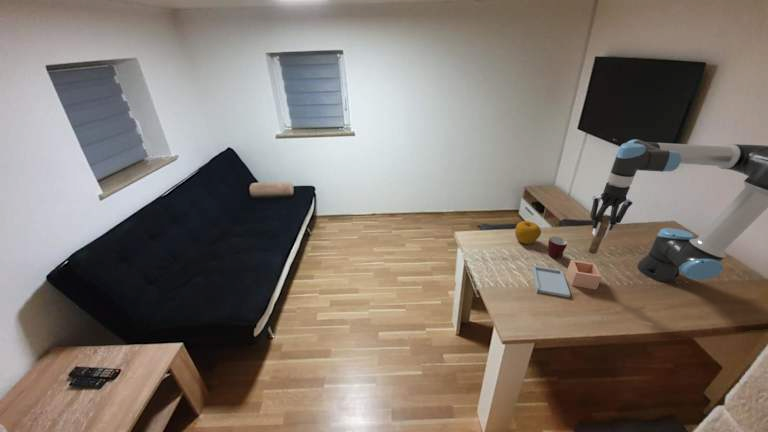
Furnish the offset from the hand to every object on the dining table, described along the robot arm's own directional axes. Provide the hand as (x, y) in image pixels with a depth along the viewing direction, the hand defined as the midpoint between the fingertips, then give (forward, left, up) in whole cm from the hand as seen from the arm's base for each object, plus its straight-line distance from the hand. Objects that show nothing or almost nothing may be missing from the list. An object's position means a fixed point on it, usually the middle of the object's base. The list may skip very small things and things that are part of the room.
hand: (598, 235), depth 128 cm
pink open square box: (0, 0, -26) cm, 26 cm away
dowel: (0, 0, -9) cm, 9 cm away
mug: (+8, -17, -26) cm, 32 cm away
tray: (+14, +5, -26) cm, 30 cm away
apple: (+21, -30, -26) cm, 45 cm away
